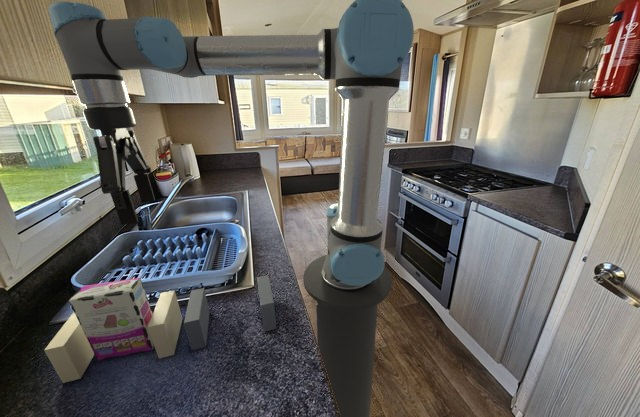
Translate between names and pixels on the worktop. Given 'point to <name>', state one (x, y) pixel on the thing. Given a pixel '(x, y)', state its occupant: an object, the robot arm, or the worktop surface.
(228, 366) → the worktop surface
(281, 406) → the worktop surface
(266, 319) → the grey book
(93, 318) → the candy bar box
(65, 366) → the cream book
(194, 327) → the grey book
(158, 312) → the cream book
